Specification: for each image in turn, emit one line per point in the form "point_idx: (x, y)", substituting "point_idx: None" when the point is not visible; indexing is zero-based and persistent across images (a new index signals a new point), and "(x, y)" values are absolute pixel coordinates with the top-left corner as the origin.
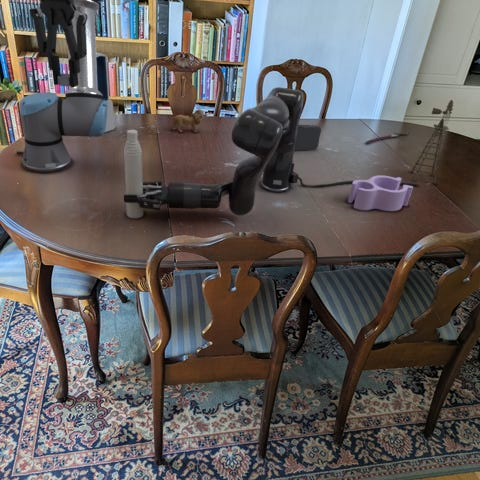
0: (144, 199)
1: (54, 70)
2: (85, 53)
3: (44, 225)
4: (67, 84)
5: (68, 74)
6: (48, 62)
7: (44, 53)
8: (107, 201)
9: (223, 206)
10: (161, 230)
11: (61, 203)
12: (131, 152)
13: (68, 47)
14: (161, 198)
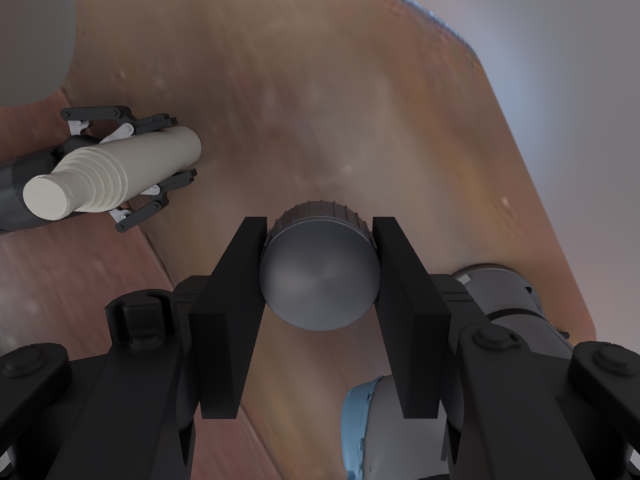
0: (106, 114)
1: (395, 257)
2: (11, 462)
3: (357, 22)
4: (284, 213)
5: (311, 312)
6: (476, 306)
7: (556, 359)
8: (269, 184)
9: (13, 246)
10: (89, 91)
11: (366, 140)
12: (77, 150)
13: (152, 444)
14: (70, 138)
